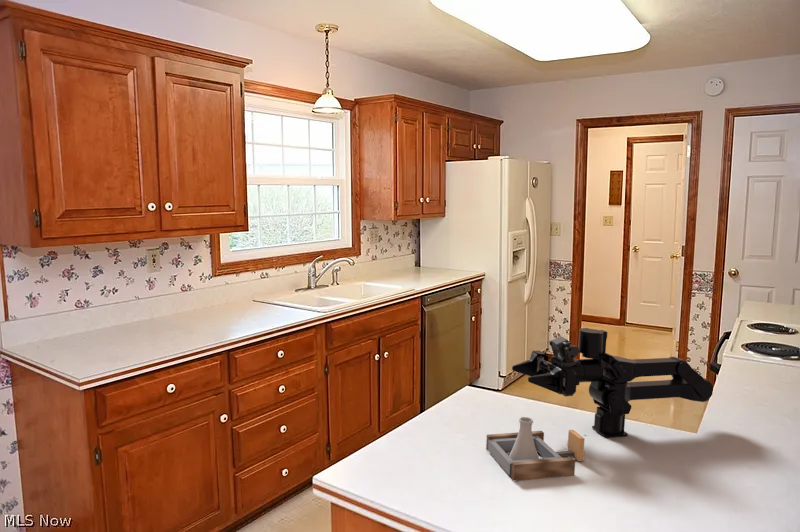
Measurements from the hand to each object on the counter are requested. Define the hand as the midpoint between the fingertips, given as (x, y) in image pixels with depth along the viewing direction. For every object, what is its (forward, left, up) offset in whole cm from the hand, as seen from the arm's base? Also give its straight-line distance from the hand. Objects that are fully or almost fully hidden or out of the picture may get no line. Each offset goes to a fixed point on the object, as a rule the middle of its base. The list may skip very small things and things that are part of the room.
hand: (520, 373), depth 140 cm
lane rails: (+3, +12, -16) cm, 21 cm away
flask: (+4, +12, -17) cm, 21 cm away
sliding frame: (0, +12, -16) cm, 20 cm away
